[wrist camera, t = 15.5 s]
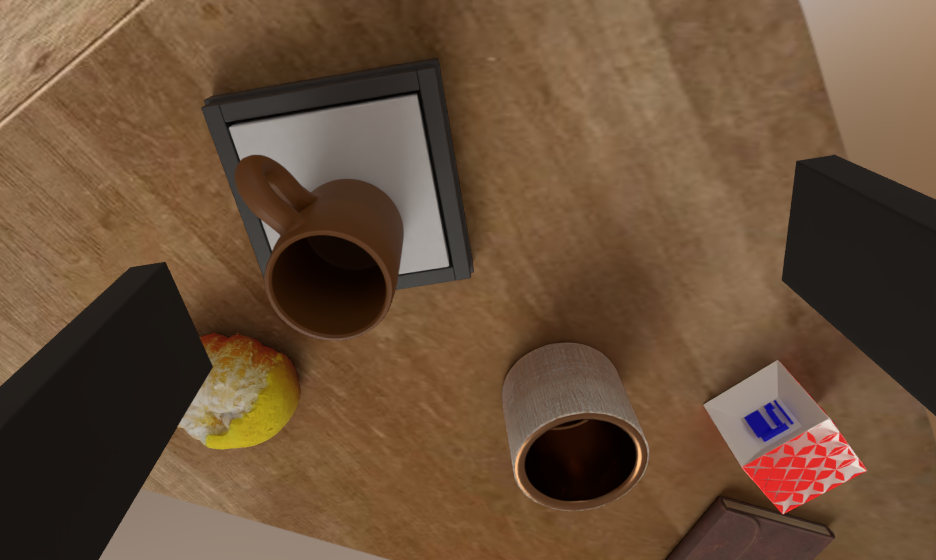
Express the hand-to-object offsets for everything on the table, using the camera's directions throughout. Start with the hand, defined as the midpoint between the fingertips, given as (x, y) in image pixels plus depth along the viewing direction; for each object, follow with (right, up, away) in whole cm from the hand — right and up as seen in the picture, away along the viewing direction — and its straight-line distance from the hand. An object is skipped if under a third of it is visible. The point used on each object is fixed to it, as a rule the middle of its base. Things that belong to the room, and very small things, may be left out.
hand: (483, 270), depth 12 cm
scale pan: (-9, +6, +29) cm, 31 cm away
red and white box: (+28, -12, +43) cm, 52 cm away
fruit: (-21, -8, +38) cm, 44 cm away
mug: (-10, +5, +28) cm, 30 cm away
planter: (+8, -10, +41) cm, 43 cm away
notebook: (+30, -34, +54) cm, 70 cm away
